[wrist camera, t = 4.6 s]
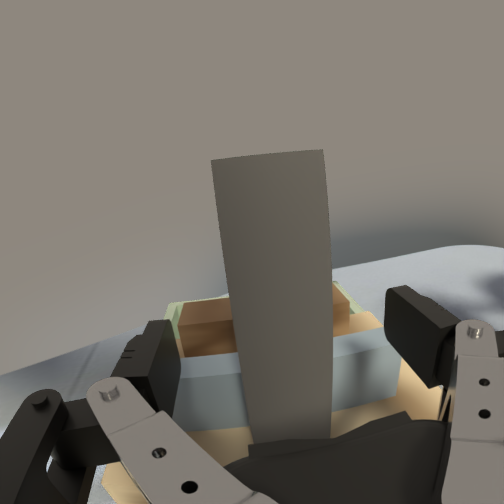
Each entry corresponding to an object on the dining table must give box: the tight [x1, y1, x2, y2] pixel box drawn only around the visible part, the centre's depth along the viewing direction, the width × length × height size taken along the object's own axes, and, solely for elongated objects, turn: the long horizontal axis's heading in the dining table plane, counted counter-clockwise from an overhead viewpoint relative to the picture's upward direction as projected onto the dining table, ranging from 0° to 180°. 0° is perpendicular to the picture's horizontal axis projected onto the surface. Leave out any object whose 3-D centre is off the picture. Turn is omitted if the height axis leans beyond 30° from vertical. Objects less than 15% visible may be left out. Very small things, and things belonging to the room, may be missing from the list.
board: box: [101, 311, 442, 504], centre depth 21 cm, size 20×16×5 cm
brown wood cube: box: [177, 297, 238, 358], centre depth 24 cm, size 4×4×4 cm
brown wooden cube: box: [332, 283, 350, 337], centre depth 24 cm, size 4×4×4 cm
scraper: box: [172, 150, 402, 444], centre depth 14 cm, size 14×6×14 cm, turn 94°
